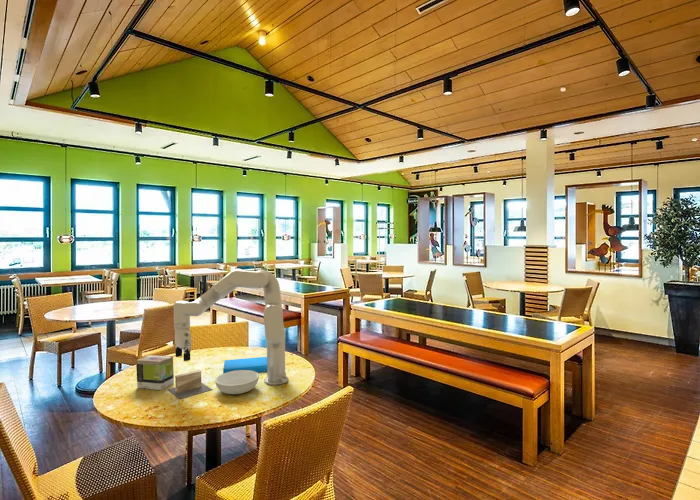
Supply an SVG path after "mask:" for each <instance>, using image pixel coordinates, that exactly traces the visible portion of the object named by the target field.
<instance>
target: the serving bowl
mask: <svg viewBox="0 0 700 500" xmlns="http://www.w3.org/2000/svg"><path fill="white" fill-rule="evenodd" d="M214 382H215V385H216V387H217V389H218V391H220V392H221V393H222V394H227V395H240V394H244V393H247V392H249V391H251V390H253V389H254V388H255V387H256V386H257V384H258V382H259V372H254V371H250V370H237V371H231V372H227V373H224V374H223V373H222V374H220V375H218V376H217V377H216V378H215V381H214Z"/></svg>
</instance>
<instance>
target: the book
mask: <svg viewBox="0 0 700 500" xmlns="http://www.w3.org/2000/svg"><path fill="white" fill-rule="evenodd" d="M237 370H250V371H254V372H256V373H265V372H266V373H267V356H262V357H261V356H257V357H248V358H238V359H237V358H236V359H235V358H234V359H225V360H224V361H223V368H222V371H223V373H222V374H224V373H227V372H231V371H237Z"/></svg>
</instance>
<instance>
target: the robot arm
mask: <svg viewBox="0 0 700 500" xmlns="http://www.w3.org/2000/svg"><path fill="white" fill-rule="evenodd" d="M238 288H245V289H263V297H264V310H263V325H264V335H265V336H264V337H265V339H266V357H267V371H266V375H267V377H265V378H264V381H263V382H264V383H265V384H266V385H269V386H270V385H271V386H278V385H284V384H285V383H287V382H288V381H289V376H287V373H286V328H285V326H284V325H285V323H284V314H283V312H284V311H283V310H284V309H283V307H282V304H283V303H282V296H281V288H280V284H279V281H278V279H277V278H276V276H275V275H274V274H273V273H272V272H270V271H267V270H266V269H258V270H256V271H252V270H251V271H249V270H244V269H242V268H239V267H238V268H234V269H233V270H231V271H230V272H229V273H227V274H226V275H225V276H223V277H222V278H221V279H220V280H218V281H216V282H215V283H214V284H213V285H212V286H211V288H209V289H208V290H207V291H206V292H204V293H203V294H202V295H200V296H199V297H198V298H196V299H195V300H194V301H190V302H189V301H188V300H177V301H175V302H174V303H173V325H174V326H173V330H174V345H175V346H174V348H175V350H174V351H175V358H179V357H182V356H183V362H188V361H190V360H191V349H192V346H193V345H192V344H193V343H192V333H191V329H190V328H191V317H200V316H201V315H202V314H204V313H205V311H207V310H208V309H210V308H211V307H212V306H213V305H214V304H215V303H217V302H219V301H220V300H223V299H224V298H226V297H227V296H228V295H230V294H231V293H232V292H233V291H235V290H236V289H238Z"/></svg>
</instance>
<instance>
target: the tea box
mask: <svg viewBox="0 0 700 500" xmlns="http://www.w3.org/2000/svg"><path fill="white" fill-rule="evenodd" d="M135 361H136V362H135V365H136V366H135V368H136V369H135V370H136V386H137V387H139V388H138V389H144V388H145V390H154V391H155V390H156V391H163V390H165V389H166V388H168V387H170V386H171V385H174V383H175V381H174V380H175V375H174V356H169V355H157V354H156V355H155V354H149V355H145V356H144V357H141V358H138V359H136V360H135ZM137 387H136V388H137Z"/></svg>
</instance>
